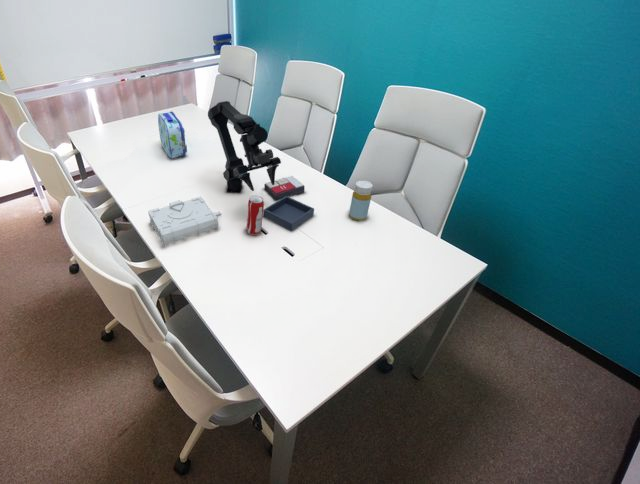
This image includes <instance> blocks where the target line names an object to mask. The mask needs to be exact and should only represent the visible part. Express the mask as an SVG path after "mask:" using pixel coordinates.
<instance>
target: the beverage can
mask: <svg viewBox="0 0 640 484" xmlns="http://www.w3.org/2000/svg"><path fill="white" fill-rule="evenodd" d="M264 206H265V201H264V198H263V197H262V196H260V195H251V196H250V197H249V199H248V202H247V214H246V228H245V229H246V232H247V234H249V235H251V236H258V235H259V234H261V233H262V227H263V226H262V225H263V218H264Z"/></svg>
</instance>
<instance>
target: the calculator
mask: <svg viewBox="0 0 640 484" xmlns="http://www.w3.org/2000/svg"><path fill="white" fill-rule="evenodd" d="M263 184H264V185H263V186H264V187H263V188H264V191H265V192H266V193H267V194H268V195H269V196H270V197H271V198H273V200H274V201H279V200H280V199H282V198H284V197H285V196H288V197H291V196H295V195H296V196H298V195H301V194H304V193H305V185H304V184H303V183H302V182H301V181H299V180H298V179H297V178H295V177H294V176H293V175H289V176H286V177H282V178H278V179H275V184H274V185H272V183H271V181H268V182H265V183H263Z"/></svg>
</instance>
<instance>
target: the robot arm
mask: <svg viewBox="0 0 640 484" xmlns="http://www.w3.org/2000/svg"><path fill="white" fill-rule="evenodd" d="M207 117H208V120H209V121H210V124H211V126H213V127H214V128H215V129H216V131H217V134H218V137H219V139H220V143H221V147H222V149H223V152H224V155H225V160H226V161H225V165H224V168H225V170H224V171H223V172H222V176H223V178H224V179H225V180H226V188H227V189H226V193H231V194H232V193H233V194H234V193H236V194H240V193H242V190H243V187H244V184H243V182H244V183H245V185H246V186H247V187H248V188H249V189H250V191H251V192H254V191H255V188H254V185H253V182H252V180H251V172H250V171H255V170H258V169H262V168H267V169H266V172H267V175H268V178H269V182H271V183H272V185H274V184H275V181H276V171H277V168H278V167H279V166H280V164H282V160H281V158H280V157H279V156H275V157H274V152H273V150H272V149H271V148H269V149H266V150H265V152H263V150H262V148H260V146H259V145H261V144H263V143H264V142H266V141H267V140H268V137H269V135H268V131H267V130H266V129H265V127H262V126H261V124H260V123H257V122H256V120H254V118H253V117H252V116H250V115H249V114H244V113H241V112H240V111H239V110H238V109H236V108H235V107H234V106H233V105H232V104H231V102H230V101H229V100H224V101H218V103H216V104H215V105H214V106H212V107H211V108H209V110H208V111H207ZM229 121H230V123H232V124H233V130H234V131H235V132H236V133H237V134H238V135H241V136H240V138H239V142H240V143H242V148H243V151H244V158H246V160H247V163H248V164H247V165H246V164H244V160H243V159H242V158H241V157H238V155H237V151H236V149H235V146H234V143H233V140H232V136H231V134H230V130H229V126H228V123H229Z"/></svg>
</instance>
